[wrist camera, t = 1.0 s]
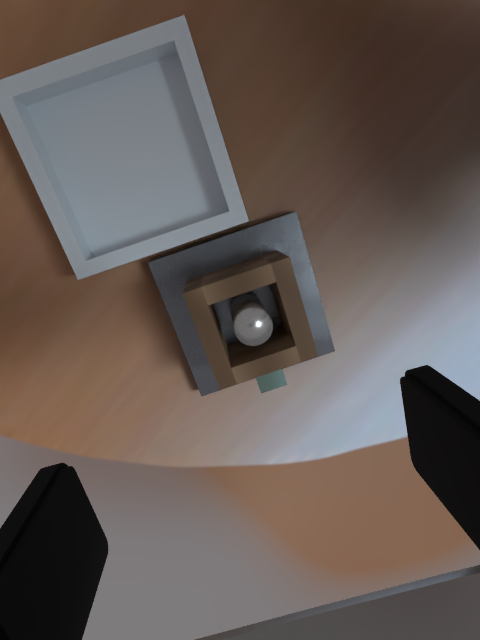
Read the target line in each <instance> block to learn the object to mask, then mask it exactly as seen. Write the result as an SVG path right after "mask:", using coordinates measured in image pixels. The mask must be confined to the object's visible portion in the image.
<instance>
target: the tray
mask: <svg viewBox="0 0 480 640" xmlns="http://www.w3.org/2000/svg"><path fill="white" fill-rule="evenodd" d="M0 113H1V115H2V118H3V120H4V122H5V124H6V126H7V128H8V131H9V133H10V135H11V137H12V139H13V141H14V143H15V146H16V148H17V150H18V152H19V154H20V156H21V159H22V161H23V163H24V165H25V167H26V169H27V171H28V174H29V176H30V178H31V180H32V182H33V184H34V187H35V189H36V191H37V193H38V195H39V197H40V199H41V202H42V204H43V206H44V208H45V210H46V212H47V215H48V217H49V219H50V221H51V223H52V225H53V227H54V230H55V232H56V234H57V236H58V238H59V240H60V243H61V245H62V247H63V249H64V251H65V253H66V255H67V258H68V260H69V262H70V264H71V266H72V268H73V271H74V273H75V275H76V277H77V279H78V280H80V279H83V278H85V277H88V276H91V275H94V274H97V273H100V272H103V271H106V270H109V269H112V268H114V267H117V266H120V265H123V264H126V263H129V262H132V261H135V260H138V259H141V258H143V257H146V256H149V255H152V254H155V253H158V252H161V251H164V250H167V249H170V248H172V247H175V246H178V245H181V244H184V243H187V242H190V241H193V240H196V239H199V238H201V237H204V236H207V235H210V234H213V233H216V232H219V231H222V230H225V229H228V228H230V227H233V226H236V225H239V224H242V223H245V222H248V221H249V220H248V217H247V214H246V210H245V207H244V204H243V201H242V198H241V194H240V191H239V188H238V185H237V182H236V178H235V175H234V172H233V169H232V166H231V162H230V159H229V156H228V153H227V150H226V146H225V143H224V140H223V137H222V134H221V130H220V127H219V124H218V121H217V118H216V114H215V111H214V108H213V105H212V102H211V98H210V95H209V92H208V89H207V86H206V82H205V79H204V76H203V73H202V70H201V66H200V63H199V60H198V57H197V54H196V50H195V47H194V44H193V41H192V38H191V34H190V31H189V28H188V25H187V22H186V18H185V15H182V16H179V17H177V18H174V19H171V20H168V21H165V22H162V23H160V24H157V25H154V26H151V27H148V28H145V29H143V30H140V31H137V32H134V33H131V34H128V35H125V36H123V37H120V38H117V39H114V40H111V41H108V42H106V43H103V44H100V45H97V46H94V47H91V48H89V49H86V50H83V51H80V52H77V53H74V54H71V55H69V56H66V57H63V58H60V59H57V60H54V61H52V62H49V63H46V64H43V65H40V66H37V67H35V68H32V69H29V70H26V71H23V72H20V73H17V74H15V75H12V76H9V77H6V78H3V79H0Z"/></svg>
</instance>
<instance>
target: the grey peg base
mask: <svg viewBox="0 0 480 640" xmlns="http://www.w3.org/2000/svg"><path fill="white" fill-rule="evenodd" d="M276 250H277V251H279V252H281V253H283V254H285V255H287V256H289V257H290V260H291V264H292V267H293V270H294V274H295V277H296V281H297V284H298V288H299V291H300V295H301V298H302V302H303V305H304V309H305V312H306V315H307V319H308V322H309V326H310V329H311V333H312V336H313V340H314V343H315V347H316V350H317V353H318V357H319V356H322V355H325V354H328V353H330V352H333V351H335V350H334V346H333V343H332V339H331V335H330V332H329V328H328V324H327V321H326V317H325V313H324V310H323V306H322V302H321V299H320V295H319V291H318V288H317V284H316V280H315V277H314V273H313V270H312V266H311V262H310V259H309V255H308V251H307V248H306V244H305V240H304V237H303V233H302V229H301V226H300V222H299V218H298V215H297V212H291V213H288V214H285V215H282V216H279V217H276V218H273V219H270V220H267V221H265V222H262V223H259V224H256V225H253V226H250V227H247V228H244V229H241V230H238V231H236V232H233V233H230V234H227V235H224V236H221V237H218V238H215V239H212V240H209V241H206V242H204V243H201V244H198V245H195V246H192V247H189V248H186V249H183V250H180V251H177V252H175V253H172V254H169V255H166V256H163V257H160V258H157V259H154V260H151V261H149V262H148V265H149V267H150V270H151V272H152V275H153V277H154V280H155V282H156V285H157V287H158V289H159V292H160V294H161V297H162V299H163V302H164V304H165V307H166V309H167V312H168V314H169V317H170V319H171V322H172V324H173V327H174V329H175V332H176V334H177V337H178V339H179V342H180V344H181V347H182V349H183V352H184V354H185V357H186V359H187V361H188V364H189V366H190V369H191V371H192V374H193V376H194V379H195V381H196V384H197V386H198V389H199V391H200V394H201V396H204V395H207V394H210V393H213V392H216V391H219V387H218V384H217V382H216V379H215V377H214V374H213V371H212V369H211V366H210V364H209V361H208V358H207V356H206V353H205V351H204V348H203V345H202V343H201V340H200V338H199V335H198V332H197V330H196V327H195V325H194V322H193V319H192V317H191V314H190V312H189V309H188V306H187V304H186V301H185V299H184V296H183V291H184V288H185V285H186V282H187V281H189V280H192V279H195V278H197V277H200V276H203V275H206V274H209V273H212V272H215V271H218V270H221V269H224V268H227V267H229V266H232V265H235V264H238V263H241V262H244V261H247V260H250V259H253V258H256V257H259V256H261V255H264V254H267V253H270V252H273V251H276ZM213 306H214V309H215V311H216V314H217V317H218V320H219V322H220V325H221V328H222V331H223V333H224V336H225V339H226V342H227V345H230V344H233V343H236V342H239V341H241V342H242V343H244V344H246V345H249V346H257V345H260V344H262V343H264V342H266V341H267V340H268V339H269V337H270V336H271V334H272V330H274V329H277V328H280V327H283V325H282V322H281V319H280V316H279V313H278V309H277V306H276V303H275V300H274V297H273V293H272V290H271V287H270V284H269V285H266V286H263V287H260V288H257V289H254V290H252V291H249V292H246V293H243V294H240V295H237V296H234V297H231V298H228V299H225V300H222V301H219V302H217V303H214V304H213ZM315 358H316V357H315ZM312 359H313V358H312ZM309 360H310V359H309ZM224 389H225V388H224ZM221 390H222V389H221Z"/></svg>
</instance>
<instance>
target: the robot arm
mask: <svg viewBox="0 0 480 640" xmlns="http://www.w3.org/2000/svg"><path fill="white" fill-rule="evenodd" d="M400 384H401V391H402V398H403V405H404V412H405V419H406V426H407V433H408V439H409V447H410V454H411V460H412V462H413V465H414V467H415V469H416V471H417V472H418V473H419V474H420V476H421V477H422V478H423V479H424V481H425V482H426V483H427V485H428V486H429V487H430V488H431V490H432V491H433V492H434V493H435V495H436V496H437V497H438V498H439V500H440V501H441V502H442V503H443V505H444V506H445V507H446V508H447V510H448V511H449V512H450V513H451V515H452V516H453V517H454V518H455V520H456V521H457V522H458V523H459V525H460V526H461V527H462V528H463V529H464V531H465V532H466V533H467V535H468V536H469V537H470V538H471V540H472V541H473V542H474V543H475V545H476V546H477V547H478V548H479V550H480V401H479V400H478V399H476V398H475V397H473V396H472V395H471V394H469V393H468V392H466V391H465V390H463V389H462V388H460V387H459V386H458V385H456V384H455V383H453V382H452V381H450V380H449V379H448V378H446V377H445V376H443V375H442V374H440V373H439V372H437V371H436V370H435V369H433V368H432V367H430V366H428V365H425V366H421V367H418V368H414V369H410V370H407V371H406V372H405V377H401V379H400ZM107 555H108V542H107V539H106V536H105V534H104V532H103V530H102V528H101V525H100V523H99V521H98V519H97V517H96V514H95V512H94V510H93V508H92V506H91V504H90V501H89V499H88V497H87V495H86V493H85V491H84V488H83V486H82V484H81V482H80V480H79V478H78V475H77V473H76V471H75V469H74V468H73V467H72V466H69V467H68V465H66V464H65V463H59V464H56V465H52V466H48V467H45V468H42V469H40V471H39V472H38V473H37V475H36V476H35V478H34V479H33V481H32V482H31V484H30V485H29V487H28V488H27V490H26V491H25V493H24V494H23V495H22V497H21V499H20V500H19V502H18V503H17V504H16V506H15V507H14V509H13V510H12V512H11V513H10V515H9V517H8V518H7V519H6V521H5V522H4V524H3V525H2V527H1V528H0V640H82V637H83V634H84V631H85V627H86V624H87V621H88V617H89V614H90V611H91V608H92V604H93V601H94V597H95V594H96V591H97V588H98V585H99V581H100V578H101V575H102V571H103V568H104V565H105V562H106V558H107ZM195 640H480V565H478V566H474V567H470V568H466V569H462V570H458V571H453V572H449V573H445V574H441V575H437V576H433V577H429V578H425V579H421V580H417V581H414V582H410V583H406V584H402V585H398V586H395V587H391V588H387V589H383V590H379V591H375V592H372V593H368V594H364V595H360V596H357V597H353V598H349V599H346V600H341V601H338V602H334V603H330V604H326V605H322V606H318V607H314V608H311V609H307V610H303V611H300V612H296V613H292V614H288V615H285V616H281V617H277V618H273V619H270V620H266V621H262V622H258V623H255V624H251V625H247V626H243V627H240V628H236V629H233V630H229V631H225V632H222V633H218V634H214V635H210V636H206V637H203V638H200V639H195Z"/></svg>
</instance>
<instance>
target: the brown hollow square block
mask: <svg viewBox="0 0 480 640" xmlns="http://www.w3.org/2000/svg"><path fill="white" fill-rule="evenodd" d="M269 284H270V287H271V290H272V293H273V297H274V300H275V303H276V306H277V309H278V313H279V316H280V319H281V322H282V325H283V327H280V328H277V329H274V330H272V334H271V336H270V337H269V339H268V340H267V341H266V342H264V343H262V344H260V345H257V346H249V345H246V344H244V343H242V342H241V341H239V342H236V343H233V344H230V345H227V342H226V339H225V336H224V333H223V331H222V328H221V325H220V322H219V320H218V317H217V314H216V311H215V309H214V306H213V304H214V303H217V302H219V301H222V300H225V299H228V298H231V297H234V296H237V295H240V294H243V293H246V292H249V291H252V290H254V289H257V288H260V287H263V286H266V285H269ZM183 296H184V299H185V301H186V304H187V306H188V309H189V312H190V314H191V317H192V319H193V322H194V325H195V327H196V330H197V332H198V335H199V338H200V340H201V343H202V345H203V348H204V351H205V353H206V356H207V358H208V361H209V364H210V366H211V369H212V371H213V374H214V377H215V379H216V382H217V384H218V387H219V390H221V389H224V388H227V387H230V386H233V385H236V384H239V383H242V382H245V381H248V380H251V379H254V378H256V379H257V382H258V385H259V388H260V391H261V393H264V392H267V391H270V390H273V389H276V388H279V387H282V386H285V385H287V383H286V380H285V377H284V373H283V370H282V369H283V368H286V367H289V366H292V365H295V364H298V363H301V362H304V361H307V360H309V359H312V358H315V357H318V353H317V350H316V347H315V343H314V340H313V336H312V333H311V329H310V326H309V322H308V319H307V315H306V312H305V309H304V305H303V302H302V298H301V295H300V291H299V288H298V284H297V281H296V277H295V274H294V270H293V267H292V264H291V260H290V257H289V256H287V255H285V254H283V253H281V252H279V251H277V250H276V251H273V252H270V253H267V254H264V255H261V256H259V257H256V258H253V259H250V260H247V261H244V262H241V263H238V264H235V265H232V266H229V267H227V268H224V269H221V270H218V271H215V272H212V273H209V274H206V275H203V276H200V277H197V278H195V279H192V280H189V281H187V282H186V285H185V288H184V291H183Z"/></svg>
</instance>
